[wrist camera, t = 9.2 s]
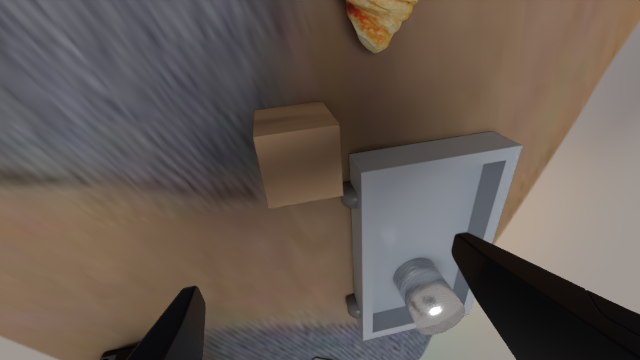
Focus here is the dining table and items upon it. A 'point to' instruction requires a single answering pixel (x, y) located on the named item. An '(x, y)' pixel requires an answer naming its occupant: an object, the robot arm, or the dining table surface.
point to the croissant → (378, 20)
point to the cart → (420, 216)
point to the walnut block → (298, 153)
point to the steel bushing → (428, 296)
